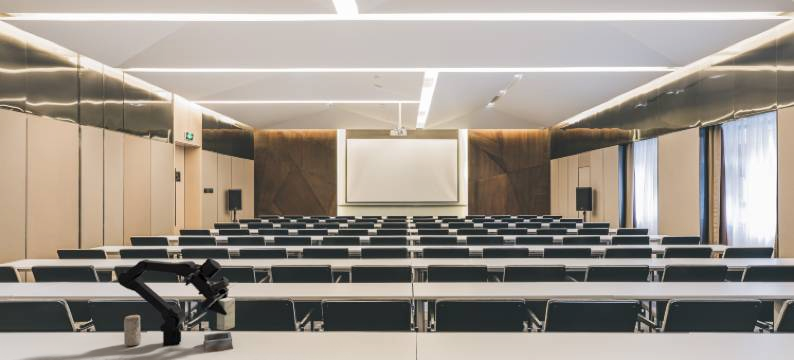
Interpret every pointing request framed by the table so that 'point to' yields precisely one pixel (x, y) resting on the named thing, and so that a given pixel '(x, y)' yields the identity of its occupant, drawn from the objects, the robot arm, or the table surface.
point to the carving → (132, 330)
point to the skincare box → (228, 319)
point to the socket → (217, 341)
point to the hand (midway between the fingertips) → (229, 312)
